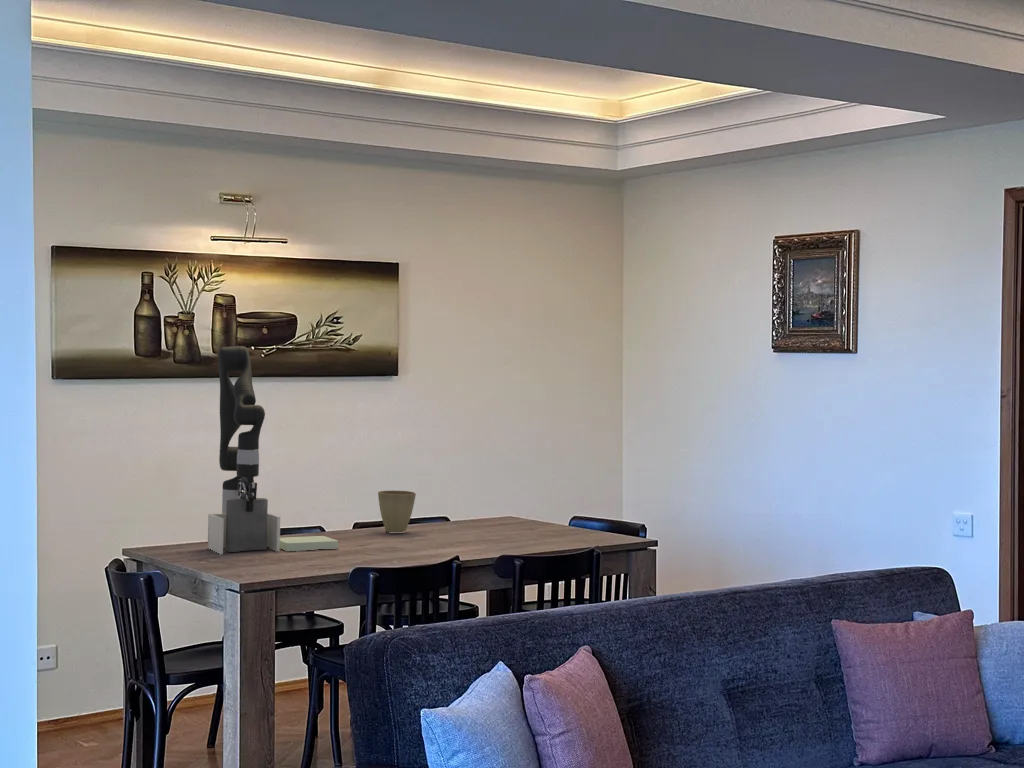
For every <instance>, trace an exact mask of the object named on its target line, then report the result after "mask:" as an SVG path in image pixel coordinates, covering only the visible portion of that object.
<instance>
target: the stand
mask: <svg viewBox="0 0 1024 768" xmlns="http://www.w3.org/2000/svg"><path fill="white" fill-rule="evenodd" d="M330 548H338V549H339V540H337V539H334V538H332V537H331V538H330V537H328V536H325V535H316V536H314V535H311V536H310V535H309V536H294V537H293V536H290V537H289V536H288V537H280V550H281V549H283V550H285V551H284V552H286V551H296V552H300V551H299V550H311V549H330ZM283 550H282V551H283Z"/></svg>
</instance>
